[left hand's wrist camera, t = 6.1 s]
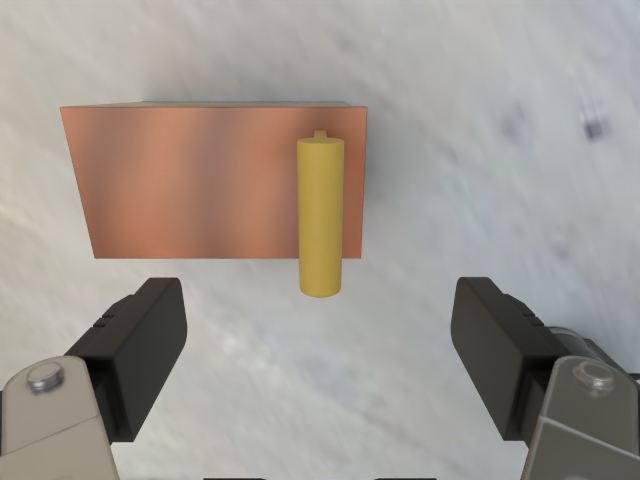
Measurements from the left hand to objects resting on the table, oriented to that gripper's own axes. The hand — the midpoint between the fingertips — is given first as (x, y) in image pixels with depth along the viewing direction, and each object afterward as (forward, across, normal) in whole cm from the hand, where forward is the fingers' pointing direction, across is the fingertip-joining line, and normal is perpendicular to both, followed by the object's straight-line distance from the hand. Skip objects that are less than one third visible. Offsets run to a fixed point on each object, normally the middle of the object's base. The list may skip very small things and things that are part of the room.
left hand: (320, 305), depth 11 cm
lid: (+16, -6, 0) cm, 17 cm away
